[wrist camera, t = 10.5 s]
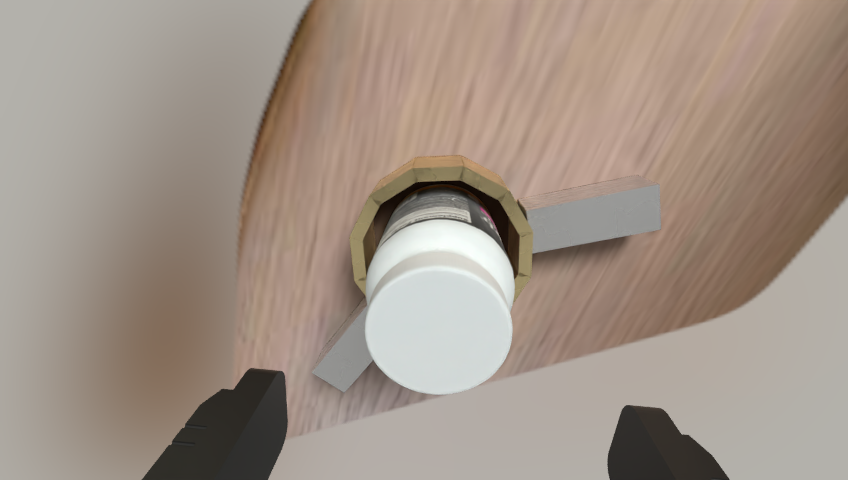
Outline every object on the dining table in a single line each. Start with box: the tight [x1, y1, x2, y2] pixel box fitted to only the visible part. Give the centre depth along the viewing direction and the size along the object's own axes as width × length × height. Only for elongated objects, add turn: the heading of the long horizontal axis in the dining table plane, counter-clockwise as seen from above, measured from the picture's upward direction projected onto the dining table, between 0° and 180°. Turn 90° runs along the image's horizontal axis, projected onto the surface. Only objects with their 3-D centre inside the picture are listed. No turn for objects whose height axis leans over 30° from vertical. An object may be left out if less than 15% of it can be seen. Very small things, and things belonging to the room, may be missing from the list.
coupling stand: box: [312, 155, 661, 393], centre depth 20 cm, size 20×9×3 cm, turn 123°
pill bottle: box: [365, 184, 515, 395], centre depth 17 cm, size 6×6×10 cm
